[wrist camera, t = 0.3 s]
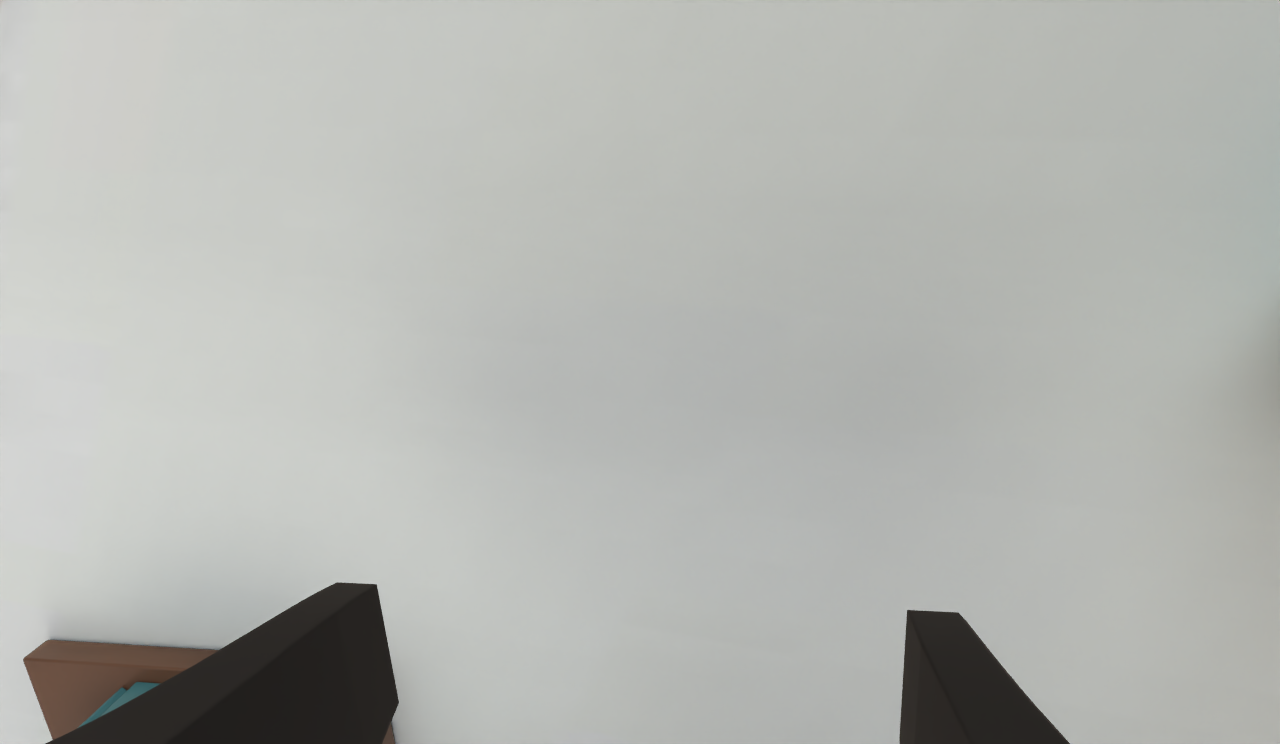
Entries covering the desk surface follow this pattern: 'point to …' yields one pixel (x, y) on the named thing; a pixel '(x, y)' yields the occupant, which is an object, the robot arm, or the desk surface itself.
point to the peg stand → (101, 676)
